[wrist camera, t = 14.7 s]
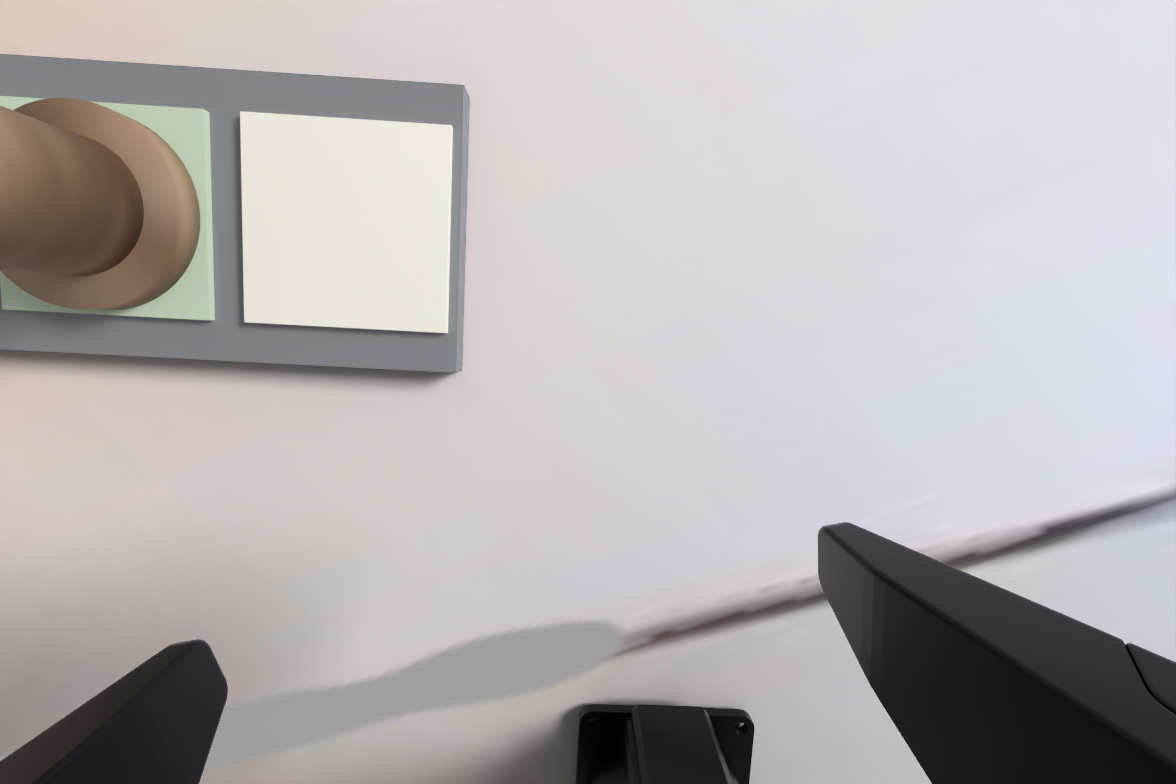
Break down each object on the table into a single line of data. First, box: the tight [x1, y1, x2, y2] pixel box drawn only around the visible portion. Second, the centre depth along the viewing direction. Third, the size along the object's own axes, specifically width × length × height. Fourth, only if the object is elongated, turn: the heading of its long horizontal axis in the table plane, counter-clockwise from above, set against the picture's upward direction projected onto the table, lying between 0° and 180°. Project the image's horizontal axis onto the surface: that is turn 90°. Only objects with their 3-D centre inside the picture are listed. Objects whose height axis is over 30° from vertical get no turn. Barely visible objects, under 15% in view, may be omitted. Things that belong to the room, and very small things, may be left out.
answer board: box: [0, 54, 469, 373], centre depth 19 cm, size 9×22×1 cm, turn 88°
